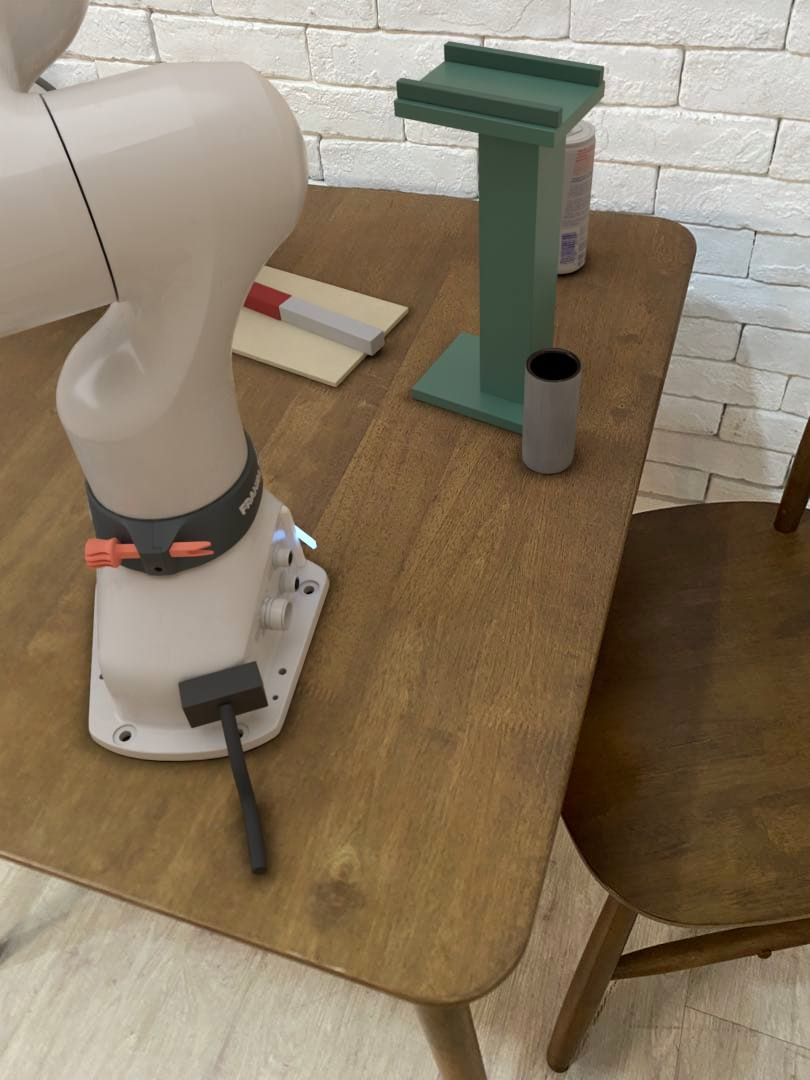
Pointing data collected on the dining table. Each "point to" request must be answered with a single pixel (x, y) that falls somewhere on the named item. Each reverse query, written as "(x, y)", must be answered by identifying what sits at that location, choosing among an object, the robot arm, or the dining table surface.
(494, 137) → the stand
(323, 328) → the bar magnet
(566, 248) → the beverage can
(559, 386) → the gray cylindrical cup
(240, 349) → the mat
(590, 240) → the dining table surface
